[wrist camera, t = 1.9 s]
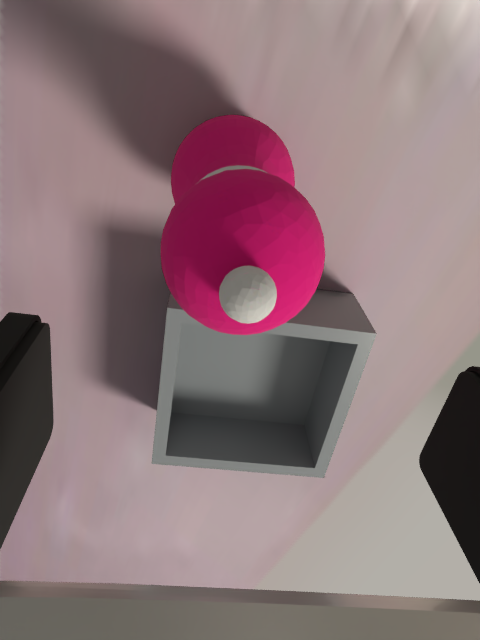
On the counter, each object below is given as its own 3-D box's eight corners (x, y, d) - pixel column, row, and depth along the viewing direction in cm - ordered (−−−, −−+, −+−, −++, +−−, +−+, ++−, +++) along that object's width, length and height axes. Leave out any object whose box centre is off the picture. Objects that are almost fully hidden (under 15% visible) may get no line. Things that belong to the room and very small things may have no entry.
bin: (174, 269, 34) (167, 307, 29) (353, 293, 36) (376, 333, 30) (159, 412, 41) (151, 463, 36) (310, 426, 42) (323, 477, 37)
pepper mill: (209, 236, 33) (200, 434, 15) (155, 141, 29) (69, 258, 12) (300, 190, 31) (404, 350, 14) (256, 85, 28) (319, 127, 11)
